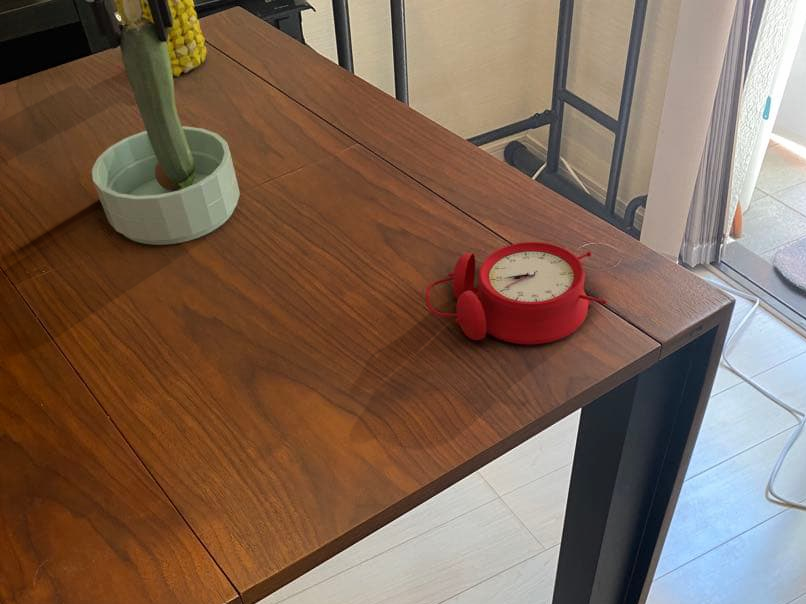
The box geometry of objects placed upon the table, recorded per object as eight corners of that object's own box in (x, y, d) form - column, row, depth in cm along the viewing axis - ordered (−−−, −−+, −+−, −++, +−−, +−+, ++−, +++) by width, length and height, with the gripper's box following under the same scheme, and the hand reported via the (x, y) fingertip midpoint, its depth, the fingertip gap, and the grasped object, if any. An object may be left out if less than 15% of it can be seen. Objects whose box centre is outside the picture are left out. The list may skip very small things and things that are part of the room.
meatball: (157, 196, 91) (145, 168, 91) (182, 193, 93) (171, 165, 93) (168, 182, 89) (156, 153, 88) (194, 180, 91) (183, 151, 90)
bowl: (83, 221, 91) (63, 173, 86) (179, 162, 97) (165, 114, 93) (171, 263, 85) (155, 213, 80) (267, 197, 91) (257, 148, 87)
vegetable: (157, 194, 90) (86, -19, 74) (176, 173, 92) (111, -37, 76) (194, 198, 88) (130, -18, 73) (212, 177, 91) (153, -37, 75)
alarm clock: (616, 306, 70) (441, 287, 68) (591, 363, 75) (427, 348, 73) (592, 235, 77) (432, 216, 74) (571, 292, 82) (419, 276, 79)
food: (222, 65, 115) (175, 102, 111) (154, 31, 117) (105, 65, 113) (211, -55, 102) (157, -20, 97) (135, -92, 104) (78, -59, 99)
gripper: (173, -242, 67) (229, 11, 81) (-36, -216, 67) (57, 34, 81) (168, -220, 62) (228, 45, 77) (-56, -191, 62) (46, 68, 77)
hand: (139, 37), depth 79 cm, fingers closed on vegetable, 3 cm apart
